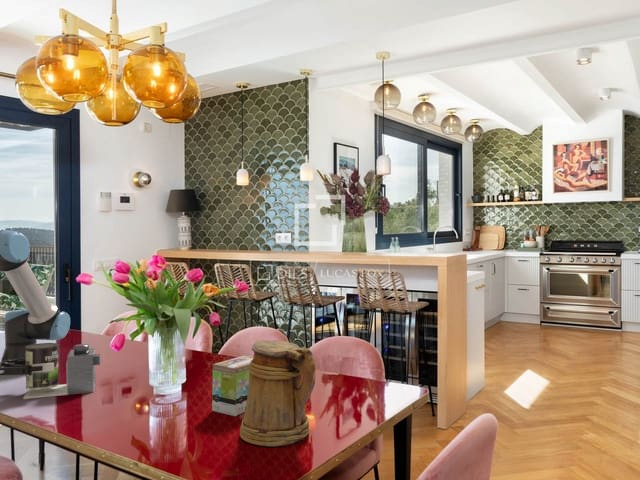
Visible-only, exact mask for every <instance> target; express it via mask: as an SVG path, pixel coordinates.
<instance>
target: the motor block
mask: <svg viewBox="0 0 640 480" xmlns="http://www.w3.org/2000/svg"><path fill="white" fill-rule="evenodd" d="M66 358H67V360H66V365H65V366H66V384H67V391H68V395H79V394H80V395H81V394H89V393H94V390H95V388H96V366H99V365H101V353H96V347H90V344H88V343H81V344H75V345H73V349H70V351H69V352H68V354H67V356H66ZM68 395H67V396H68Z"/></svg>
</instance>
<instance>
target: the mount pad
mask: <svg viewBox="0 0 640 480" xmlns="http://www.w3.org/2000/svg"><path fill="white" fill-rule="evenodd" d="M57 396H68V391H67V383H65V384H58V385H57V386H55V387H52V388H48V389H42V390H29V389H27V392H25V394H24V396H23V400H28V399H36V398H47V397H57Z"/></svg>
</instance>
